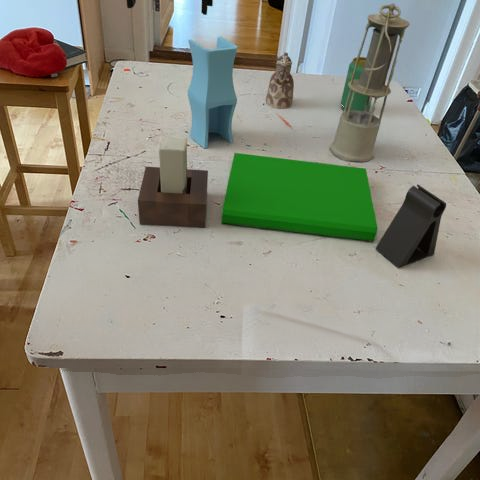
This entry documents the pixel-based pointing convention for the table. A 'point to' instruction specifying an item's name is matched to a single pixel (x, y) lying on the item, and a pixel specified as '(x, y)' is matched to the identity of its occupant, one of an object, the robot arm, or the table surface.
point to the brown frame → (173, 201)
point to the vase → (212, 91)
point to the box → (173, 165)
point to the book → (299, 197)
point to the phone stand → (413, 228)
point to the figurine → (281, 84)
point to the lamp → (370, 87)
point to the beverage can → (358, 99)
